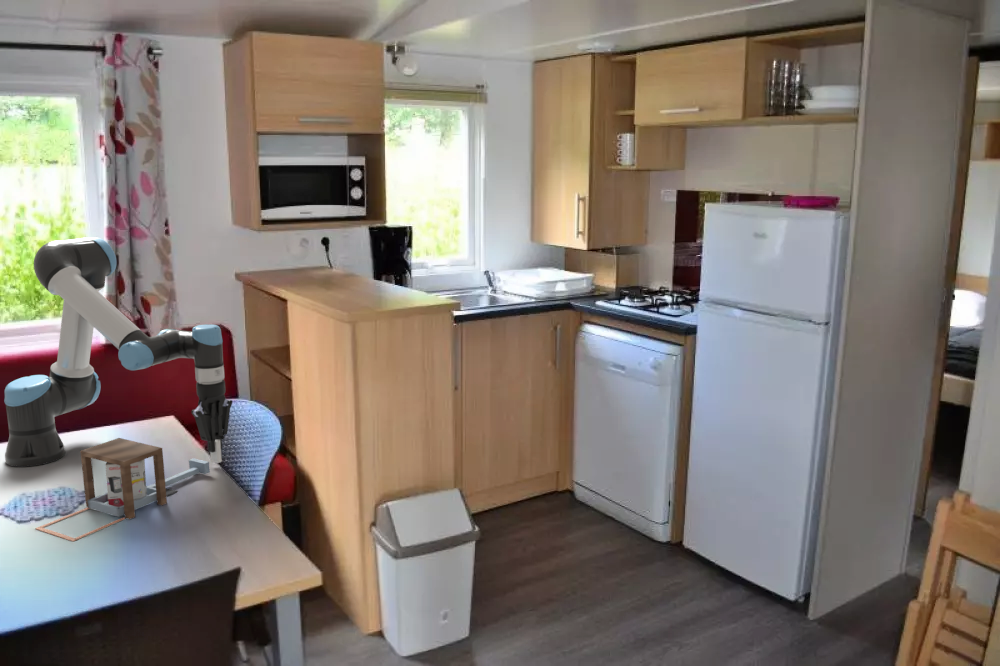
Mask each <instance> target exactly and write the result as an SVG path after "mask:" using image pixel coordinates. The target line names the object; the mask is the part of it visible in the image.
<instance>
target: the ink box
mask: <svg viewBox="0 0 1000 666" xmlns="http://www.w3.org/2000/svg"><path fill="white" fill-rule="evenodd" d="M145 461H146V459H144V460H141V461H138V462H136V463H133V464H130V467H131V478H132V488H133V499H134V501H135V500H137V499H140V498H142V497H145V496H147V490H146V486H147V478H146V465H145V463H146V462H145ZM105 477H106V478H105V479H106V480H105V481H106V491H107V492H106V493H108V502H107V504H109V505H112V506H116V507H121V506H123V505H124V502H123V492H122V481H121V471H120V465H116V464H112V463H108V462H105Z"/></svg>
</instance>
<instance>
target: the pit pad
mask: <svg viewBox="0 0 1000 666" xmlns="http://www.w3.org/2000/svg"><path fill="white" fill-rule="evenodd" d="M176 493H178V490H176V489H171V488H167V487H166V498H167V497H169V496H171V495H174V494H176Z"/></svg>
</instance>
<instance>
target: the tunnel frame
mask: <svg viewBox="0 0 1000 666" xmlns="http://www.w3.org/2000/svg"><path fill="white" fill-rule="evenodd" d="M151 457H152V459H153V460H152V461H153V469H154V480H155V481H154V483H155V484H156V495H157V501H156V504H157V505H159V506H163V505H166V504H168V500H167V497H166V488H167V486H165V479H166V477H165V476H166V475H165V466H164V465H165V464H164V452H163V447H160V446H155V445H152V444H151V445H150V444H147V443H143V442H138V441H134V440H130V439H124V438H122V437H121V438H120V437H118V438H115V439H111V440H109V441H106V442H102V443H99V444H97V445H94V446H90V447H88V448H85V449H82V450H80V460H81V469H82V471H81V472H82V478H83V479H82V480H83V489H84V497H85V499H84V500H85V506H86V507H85V508H87V507H88V500H89V499H92V498H95V497H96V491H95V481H94V471H93V462H92V461H93V460H97V461H100V462H101V461H102V462H105V463H106V462H108V463H112V464H116V465H120V471H121V481H122V492H123V502H124V512H125V514H124V518H125V519H127V520H131V519H133V518H136V512H135V511H136V510H134V499H133V488H132V478H131V467H130V464H133V463H136V462H138V461H141V460H144V459H145V460H146V459H148V458H149V459H150V458H151ZM92 459H93V460H92Z"/></svg>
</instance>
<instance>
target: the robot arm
mask: <svg viewBox="0 0 1000 666" xmlns="http://www.w3.org/2000/svg"><path fill="white" fill-rule="evenodd" d="M34 255H35V256H34V258H33V269H34V270H33V271H34V274H35V276H36V278H37V280H38V281H39V283H40V284H41V285H42V287H44V288H45V290H46V291H47V292H49V293H50V294H51V295H54V296H58V297H60V298H61V299H62V300H63V304H62V305H63V306H62V313H61V323H60V331H59V332H60V333H59V340H58V341H59V342H58V351H57V360H56V361H55V362H54V363H52V364H51V365H50V369H49V376H48V375H45V374H33V375H29V376H23V377H20V378H17V379H14V380H13V381H11V382H9V383H8V384H6V386H5V389H4V400H3V401H4V404H5V409H6V416H7V424H8V434H9V437H8V441H7V445H6V449H5V453H4V459H5V464H6V465H8V466H11V467H16V468H17V467H19V468H20V467H22V468H23V467H34V466H35V467H36V466H40V465H45V464H49V463H52V462H56V461H57V460H60V459H61V458H63V457H64V456H65V454H66V449H65V445H64V443H63V441H62V439H61V437H60V435H59V433H58V431H57V429H56V423H55V422H56V421H55V417H58V416H61V415H63V414H67V413H70V412H72V411H76V410H81V409H84V408H86V407H87V406H90V405H92V404H94V403H95V401H97V399H98V398H99V395H100V393H101V386H102V385H101V380H99V376H98V374H97V373H96V372H95V368H94V367H93V366H92V365H91V364H90V360H91V359H90V358H91V353H92V352H91V351H92V345H93V344H92V343H93V337H94V336H93V334H94V329H95V330H97V331H98V332H99V333H100V334H101V335H102V337H104V338H105V339H107V340H108V341H109V342H110V343H111V344H112V345H113V346H114V347H115V348H116V349H117V350H118V354H117V355H118V360H119V361H120V363H121V366H123V368H125V369H126V370H129V371H138V370H144V369H148V368H149V367H151V366H152V367H153V366H155V365H159V364H163V363H166V362H170V361H172V360H177V359H190V360H191V359H192V360H193V361H194V373H195V381H196V384H195V386H196V387H195V388H196V395H197V397H198V402H197V405H198V406H197V407H196V408H195V409H192V410H191V414H192V416H193V417H194V419H195V423H196V426H197V429H198V432H199V433H198V434H199V436H200V439H201V441H205V442H206V441H207V450H208V453H209V456H210V463H215V464H219V463H221V462H222V449H223V440H225V437H226V436H225V435H227V434H228V432H229V429H228V428H229V421H230V414H231V407H232V406H233V405H232V404H233V400H231V399H227V398H226V395H225V393H226V381H225V367H224V366H225V364H224V353H223V352H224V350H223V342H224V341H223V335H222V329H221V327H220V326H219V325H217V324H198V325H196V326H194V327H192V329H191V330H180V329H175V328H171V329H168V328H167V329H166V328H165V329H163V330H160V331H159V333H157V335H153V336H148V334H146V333H144V332H143V331H142V329H140V328H139V327H138V326H137V325H136V324H135V323H134V322H132V321H131V319H129V318H128V317H127V316H126V315H125V314H124V313H122V311H120V310H119V308H117V307H116V306H115V305H114V304H113V303H111V301H110V300H108V299H107V298H106V297H105V296H104V295H103V294H102V293H101V292H99V291H101V290H103V289H104V288H105V287H106V285H105V284H106V278H107V277H109V276H111V275H112V274H113V273H114V272H115V270H116V268H117V256H116V253H115V251H114V250H113V248H112V246H111V245H110V244H109V242H107V241H106V240H105V239H103V238H100V237H97V236H96V237H95V236H94V237H89V236H84V237H80V238H78V237H77V238H71V239H61V240H59V239H57V240H52V241H48V242H47V243H45V244H43V245H42V246H41V247H40V248H38V250H37V251H36V253H35V254H34Z"/></svg>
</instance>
